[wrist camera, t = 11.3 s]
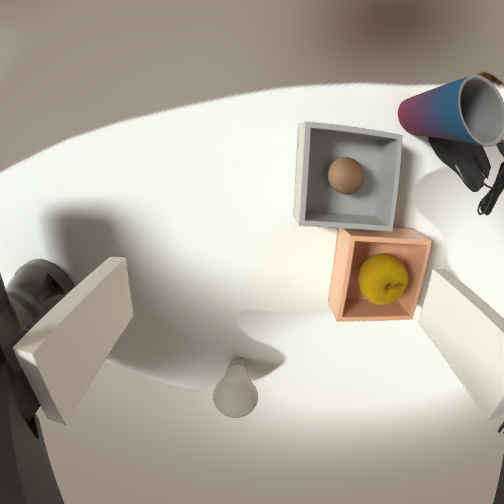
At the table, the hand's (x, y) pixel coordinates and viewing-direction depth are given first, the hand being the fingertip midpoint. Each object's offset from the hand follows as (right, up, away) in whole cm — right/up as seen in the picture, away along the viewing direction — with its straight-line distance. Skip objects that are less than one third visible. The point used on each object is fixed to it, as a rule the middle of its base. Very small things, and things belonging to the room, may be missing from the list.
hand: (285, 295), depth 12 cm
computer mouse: (+32, +16, +23) cm, 42 cm away
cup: (+20, +20, +21) cm, 35 cm away
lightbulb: (-3, -15, +34) cm, 38 cm away
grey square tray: (+10, +11, +24) cm, 28 cm away
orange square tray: (+15, 0, +28) cm, 32 cm away
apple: (+15, 0, +28) cm, 32 cm away
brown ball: (+10, +11, +24) cm, 28 cm away
